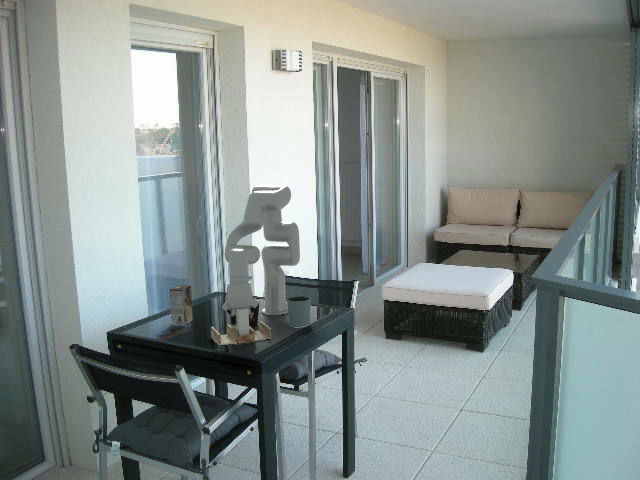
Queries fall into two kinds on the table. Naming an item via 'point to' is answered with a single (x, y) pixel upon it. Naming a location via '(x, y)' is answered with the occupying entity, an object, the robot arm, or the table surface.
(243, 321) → the white rectangular block
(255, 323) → the coffee mug
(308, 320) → the grey plant pot
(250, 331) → the divider rack
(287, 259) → the robot arm
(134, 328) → the table surface
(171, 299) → the coffee box
